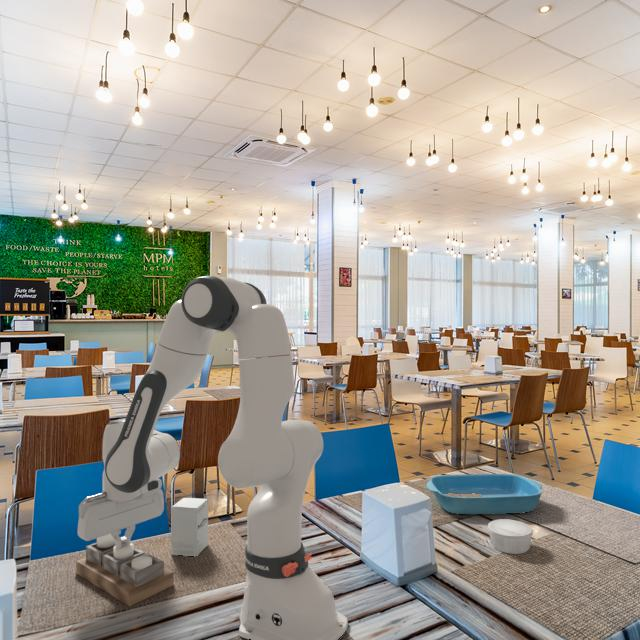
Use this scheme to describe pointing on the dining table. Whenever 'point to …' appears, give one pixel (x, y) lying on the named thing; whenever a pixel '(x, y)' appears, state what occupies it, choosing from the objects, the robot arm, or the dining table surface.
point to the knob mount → (123, 574)
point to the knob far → (105, 541)
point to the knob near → (141, 562)
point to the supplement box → (189, 526)
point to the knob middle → (123, 552)
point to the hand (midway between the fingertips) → (123, 545)
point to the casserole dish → (486, 493)
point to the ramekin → (510, 536)
